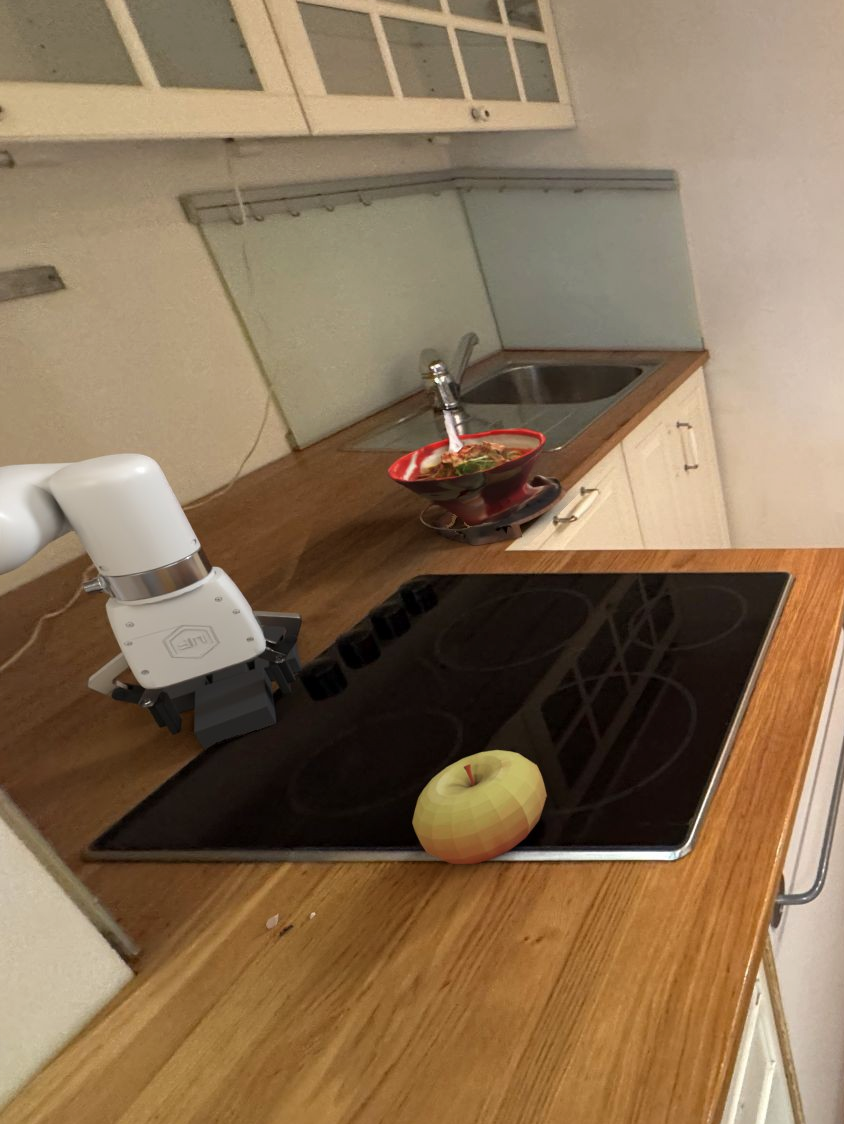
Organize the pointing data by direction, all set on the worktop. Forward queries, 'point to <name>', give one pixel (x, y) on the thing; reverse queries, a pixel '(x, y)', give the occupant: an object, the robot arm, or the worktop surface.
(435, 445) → the stew
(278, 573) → the worktop surface
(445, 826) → the apple
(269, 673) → the base pad
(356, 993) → the worktop surface
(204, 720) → the dark grey beveled block
